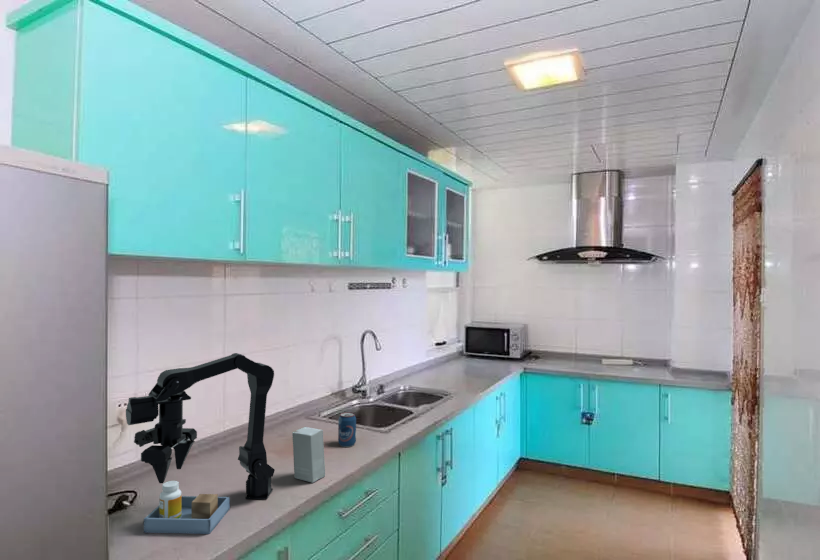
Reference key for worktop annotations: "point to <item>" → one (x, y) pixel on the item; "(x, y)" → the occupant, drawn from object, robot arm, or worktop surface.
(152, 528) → the tote
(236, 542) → the worktop surface
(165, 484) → the supplement bottle
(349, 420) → the soda can
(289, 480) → the worktop surface
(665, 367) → the worktop surface
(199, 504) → the cube
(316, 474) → the skincare box
